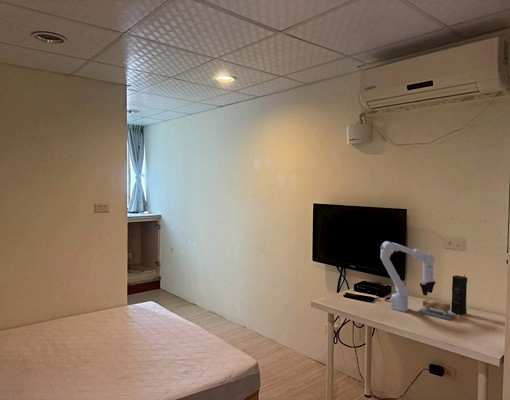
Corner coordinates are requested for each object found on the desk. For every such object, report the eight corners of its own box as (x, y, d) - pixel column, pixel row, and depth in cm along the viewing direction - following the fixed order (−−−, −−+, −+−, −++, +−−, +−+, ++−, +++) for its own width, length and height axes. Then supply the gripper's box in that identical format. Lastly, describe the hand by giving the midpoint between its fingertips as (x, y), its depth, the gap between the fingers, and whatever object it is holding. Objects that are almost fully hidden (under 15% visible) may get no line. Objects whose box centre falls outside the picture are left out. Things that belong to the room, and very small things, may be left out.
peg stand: (417, 312, 230) (418, 306, 229) (424, 309, 236) (424, 302, 236) (449, 320, 217) (449, 313, 216) (455, 316, 223) (455, 309, 223)
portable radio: (448, 311, 232) (449, 271, 231) (455, 310, 235) (456, 270, 233) (460, 315, 225) (461, 274, 224) (467, 313, 228) (468, 273, 226)
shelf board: (422, 306, 229) (423, 301, 229) (426, 304, 233) (426, 299, 233) (447, 311, 219) (447, 306, 219) (450, 309, 223) (450, 304, 223)
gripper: (429, 275, 225) (429, 297, 226) (439, 271, 235) (438, 292, 236) (418, 273, 230) (417, 295, 231) (427, 269, 240) (427, 290, 241)
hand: (427, 293), depth 234 cm, fingers open, 7 cm apart
